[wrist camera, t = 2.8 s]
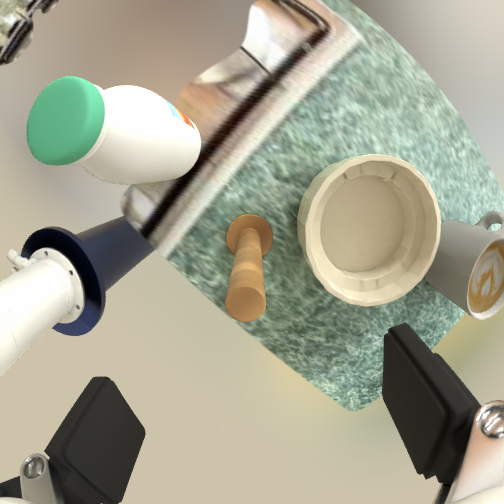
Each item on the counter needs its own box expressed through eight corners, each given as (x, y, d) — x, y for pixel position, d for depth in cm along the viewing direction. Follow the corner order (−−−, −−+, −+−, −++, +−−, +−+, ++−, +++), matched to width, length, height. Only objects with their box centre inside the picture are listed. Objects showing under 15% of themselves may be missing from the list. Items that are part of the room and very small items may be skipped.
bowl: (270, 243, 32) (273, 259, 26) (341, 131, 28) (360, 122, 23) (368, 304, 34) (387, 327, 28) (432, 207, 30) (460, 214, 25)
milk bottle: (215, 154, 29) (150, 123, 10) (158, 194, 30) (39, 228, 11) (179, 100, 27) (86, 20, 8) (125, 141, 29) (-5, 121, 9)
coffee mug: (438, 302, 34) (478, 335, 24) (410, 254, 32) (456, 282, 22) (491, 241, 31) (535, 259, 22) (468, 189, 30) (519, 198, 20)
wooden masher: (218, 243, 32) (183, 316, 15) (242, 204, 31) (228, 241, 14) (257, 265, 32) (260, 356, 16) (280, 228, 31) (310, 290, 15)
